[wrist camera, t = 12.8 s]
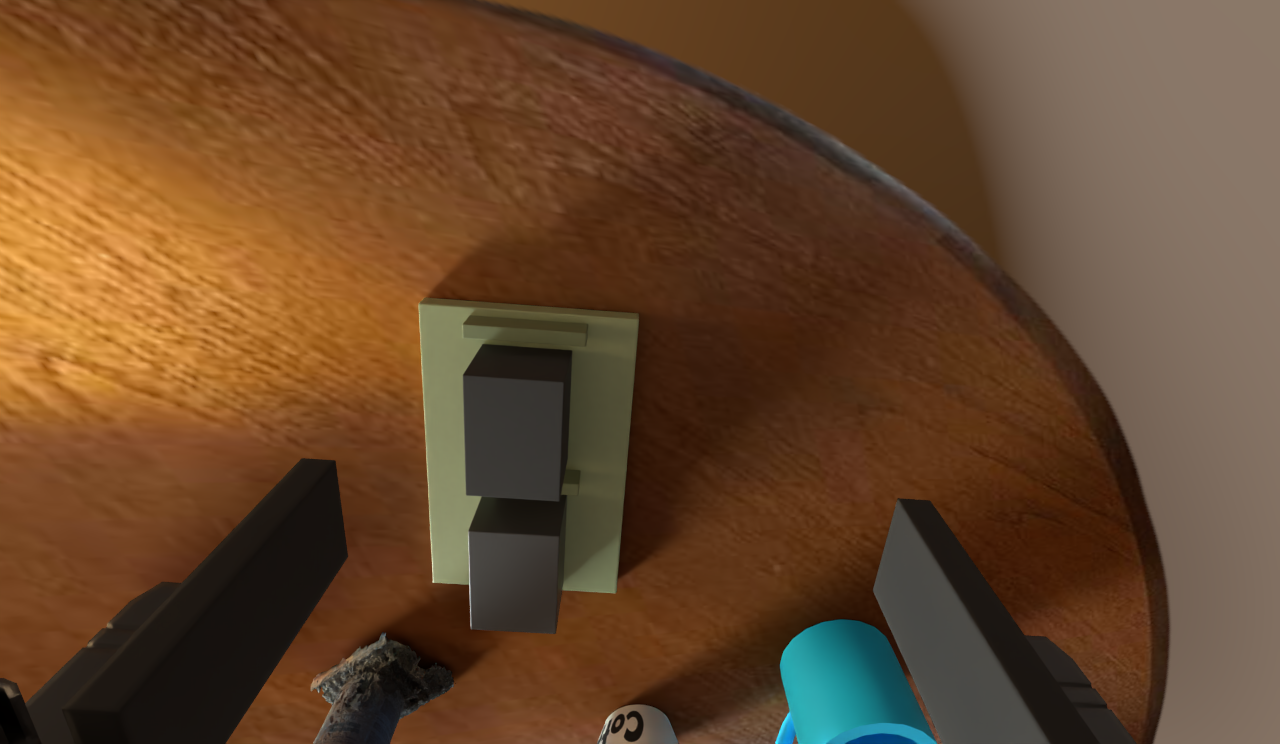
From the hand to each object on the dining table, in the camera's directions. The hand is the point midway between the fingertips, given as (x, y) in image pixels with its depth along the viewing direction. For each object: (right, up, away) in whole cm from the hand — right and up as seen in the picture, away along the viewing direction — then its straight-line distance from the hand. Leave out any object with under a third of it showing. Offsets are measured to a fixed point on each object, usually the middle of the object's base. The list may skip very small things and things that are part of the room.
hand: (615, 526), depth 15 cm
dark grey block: (-6, +2, +22) cm, 23 cm away
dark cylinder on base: (-18, -19, +32) cm, 41 cm away
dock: (-6, -1, +25) cm, 25 cm away
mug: (+14, -19, +32) cm, 40 cm away
